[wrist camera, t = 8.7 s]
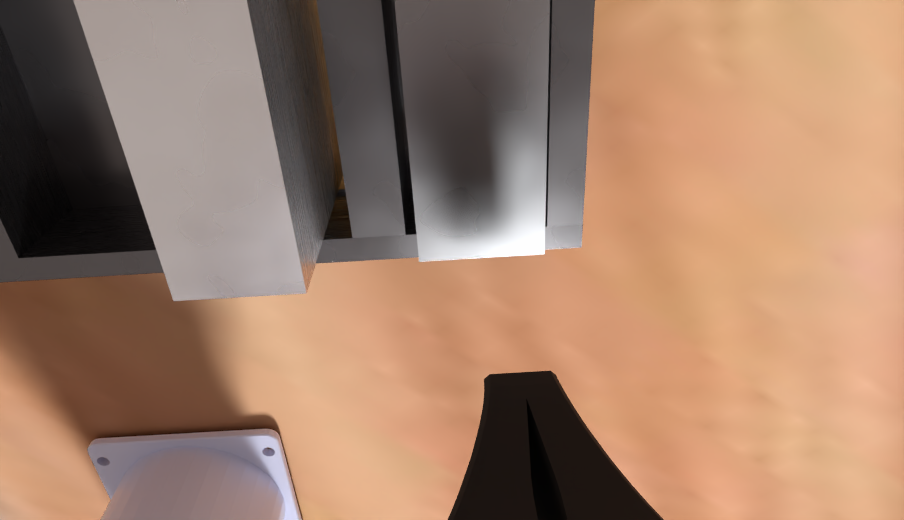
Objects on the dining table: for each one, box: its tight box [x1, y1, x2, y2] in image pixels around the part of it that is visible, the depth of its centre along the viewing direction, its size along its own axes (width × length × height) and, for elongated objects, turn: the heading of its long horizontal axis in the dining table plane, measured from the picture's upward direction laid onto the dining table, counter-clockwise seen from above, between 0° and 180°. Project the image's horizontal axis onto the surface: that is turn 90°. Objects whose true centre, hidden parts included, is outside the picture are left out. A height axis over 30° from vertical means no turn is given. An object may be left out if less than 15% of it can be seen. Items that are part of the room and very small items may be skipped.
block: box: [73, 0, 343, 301], centre depth 15 cm, size 8×3×7 cm, turn 3°
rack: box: [0, 0, 595, 282], centre depth 16 cm, size 11×17×7 cm, turn 93°
